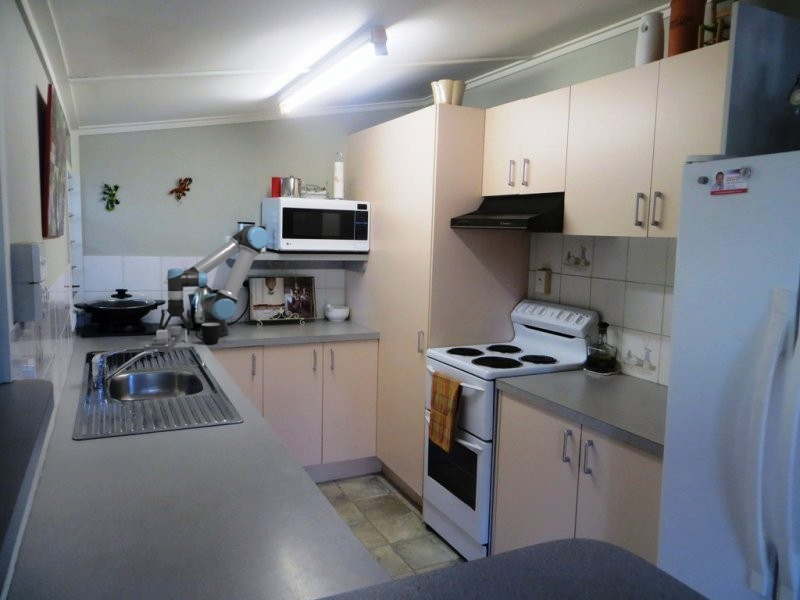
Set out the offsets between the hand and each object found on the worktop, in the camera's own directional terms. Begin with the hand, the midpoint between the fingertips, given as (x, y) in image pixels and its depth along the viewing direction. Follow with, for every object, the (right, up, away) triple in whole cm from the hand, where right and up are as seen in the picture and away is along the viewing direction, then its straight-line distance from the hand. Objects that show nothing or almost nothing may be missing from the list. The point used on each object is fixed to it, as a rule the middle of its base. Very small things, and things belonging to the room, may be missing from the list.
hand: (176, 341), depth 307 cm
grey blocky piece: (-2, -2, -17) cm, 17 cm away
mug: (+17, -1, -1) cm, 17 cm away
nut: (0, 0, 0) cm, 0 cm away
